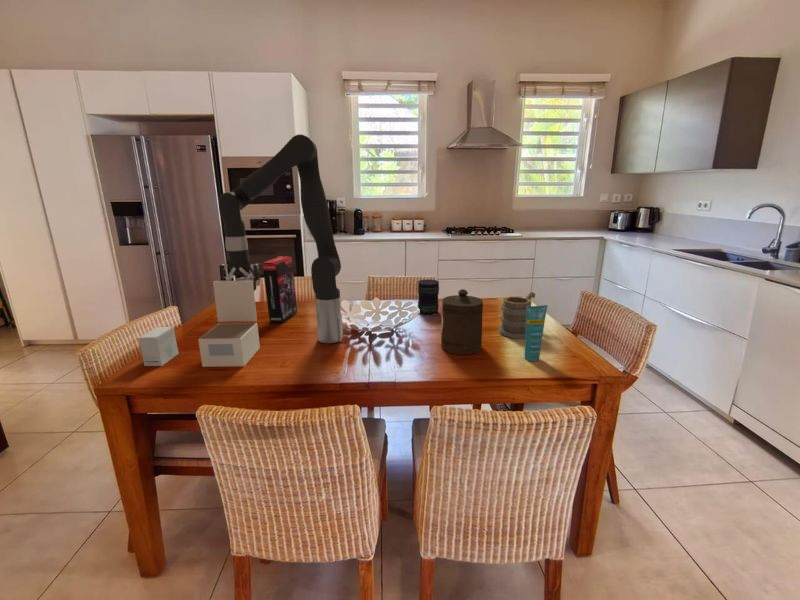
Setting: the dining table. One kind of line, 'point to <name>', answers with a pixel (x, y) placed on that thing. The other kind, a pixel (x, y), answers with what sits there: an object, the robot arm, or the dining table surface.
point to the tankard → (514, 316)
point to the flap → (235, 300)
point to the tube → (534, 331)
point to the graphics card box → (280, 288)
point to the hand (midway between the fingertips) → (242, 291)
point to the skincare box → (158, 346)
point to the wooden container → (461, 324)
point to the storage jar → (428, 296)
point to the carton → (229, 344)
